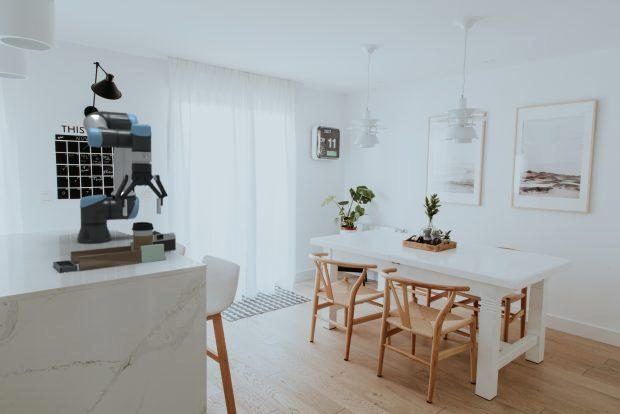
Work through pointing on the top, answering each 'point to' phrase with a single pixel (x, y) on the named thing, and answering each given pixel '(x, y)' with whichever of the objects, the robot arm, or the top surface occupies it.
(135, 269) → the top surface
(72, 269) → the tray
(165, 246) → the camera
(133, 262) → the channel
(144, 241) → the coffee cup
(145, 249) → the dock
